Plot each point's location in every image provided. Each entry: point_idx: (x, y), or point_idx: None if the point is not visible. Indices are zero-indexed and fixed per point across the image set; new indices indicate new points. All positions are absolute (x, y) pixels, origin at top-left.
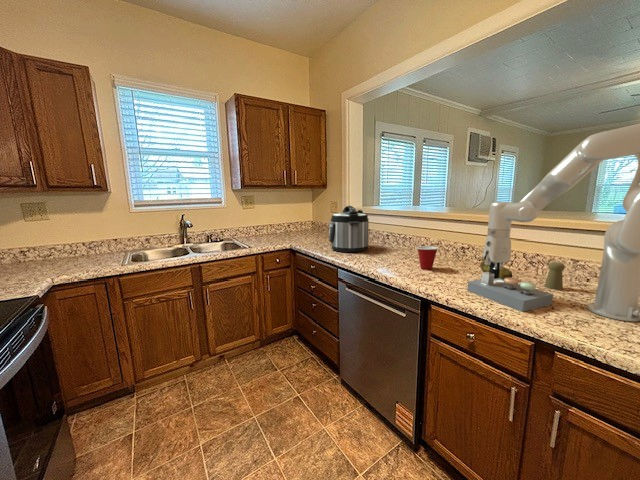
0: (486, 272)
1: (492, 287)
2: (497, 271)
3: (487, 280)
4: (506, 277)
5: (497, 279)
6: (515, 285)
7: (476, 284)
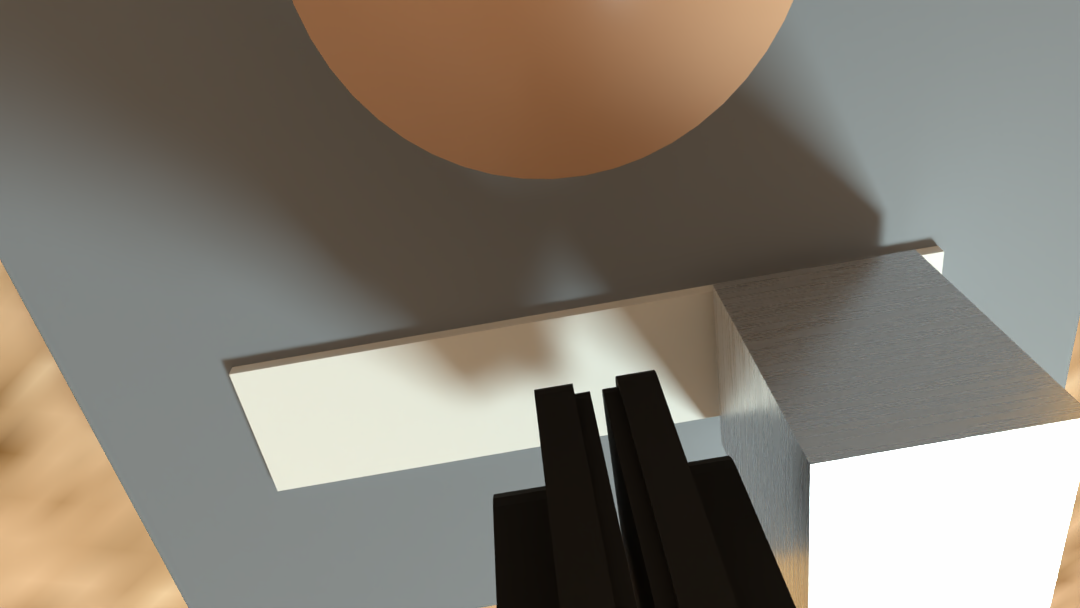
0: (920, 597)
1: (948, 78)
2: (675, 543)
3: (967, 321)
4: (546, 173)
5: (287, 531)
6: (145, 86)
7: (1073, 340)
